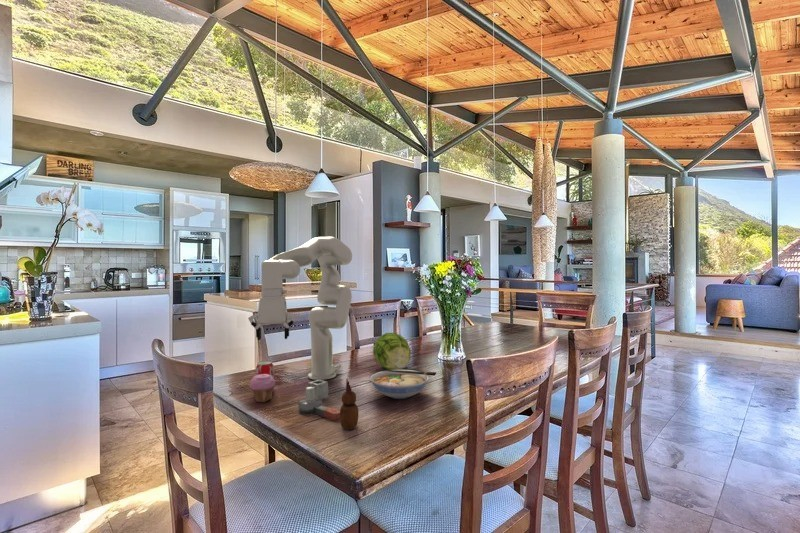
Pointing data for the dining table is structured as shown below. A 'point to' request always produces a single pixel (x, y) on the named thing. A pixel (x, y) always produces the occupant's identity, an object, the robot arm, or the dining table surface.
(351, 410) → the wooden figurine
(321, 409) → the ratchet
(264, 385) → the cupcake
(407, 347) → the lettuce
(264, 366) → the soda can
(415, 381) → the ramen bowl
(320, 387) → the socket
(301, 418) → the dining table surface
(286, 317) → the robot arm
